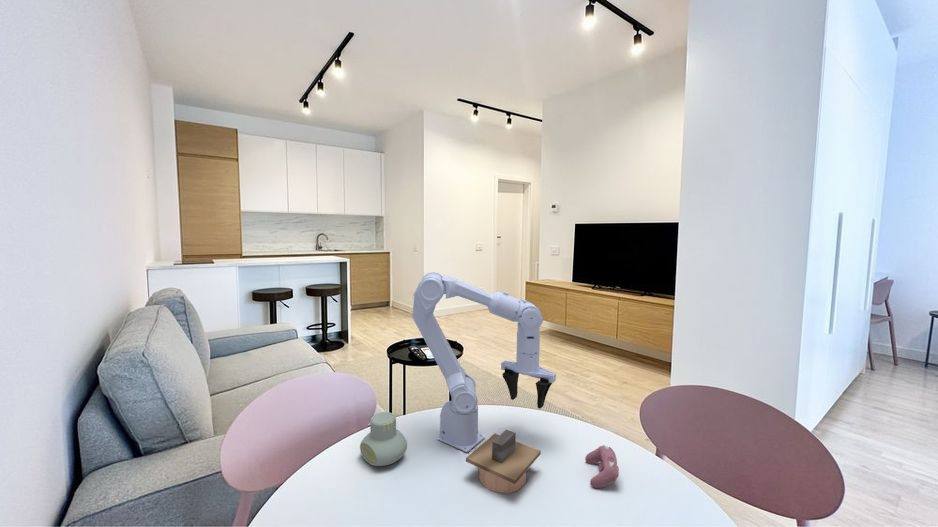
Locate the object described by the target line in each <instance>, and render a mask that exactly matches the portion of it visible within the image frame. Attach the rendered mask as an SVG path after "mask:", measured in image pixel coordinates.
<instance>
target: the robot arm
mask: <svg viewBox="0 0 938 527" xmlns="http://www.w3.org/2000/svg"><path fill="white" fill-rule="evenodd" d="M444 295H445V299H446V300H447V299H450V298H451V299H452V298H455V297H460V298H462V299H465V300H469V301H472V302H473V303H477V304H481V305H482V306H486V307H487V308H488V311H489V313H491V314H492V315H495V316H498V317H500V318H503V319H505V320H507V321H510V322H512V323H513V322H514V323H517V332H516V358H515V359H516V361H509V360H504V361H501V363H500V364H501V365H500V366H501V368H500V370H501V371H504V372H503V373H502V378H503V379H504V381H505V383H506V386H507V389H508V393H509V396H510V397H509V398H510V400H511V401H513V400H515V399H516V398H518V389H519V388H518V386H519V385H518V382H519V376H520V375H523V376H528V377H532V378H535V379H539V380H538V381H537V382H535V388H536V393H537V394H536V395H537V404H536V406H537V409H542V408H543V407H544V406H545V401H546V397H547V395H548V392H549V390H550V387H551V386H552V384H554V383H555V382H556V381H557V373H556V372H553V371H550V370H548V369H545V368H544V367H540V348H541V347H540V344H541V343H540V342H541V340H540V338H541V334H540V327H541V326H542V324H543V322H544V317H543V314H542V312H541V310H540V309H539V308H538V307H537V306H536V305H535V304H534V303H532V302H530V301H529V300H526V299H524V298H521V299H519V298H517V297H514V296H512V295H509V292H508V291H505V290H503V291H502V292H501V291H496V292H493V293H490V292H488V291H485V290H483V289H480V288H479V287H475V286H473V285H472V284H469V283H467V282H465V281H463V280H459V279H458V278H456V277H451V276H449V275H445V274H440V273H438V272H434V271H432V272H431V271H430V272H428V273H426V274H425V275H424V276H423V277H422V279H421V280H420V281H419V283H418V285H417V287H416V289H415V290H414V294H413V296H414V297H413V306H412V320H413V321H414V324H415V325H416V327H417V329H418V331H419V332H420V335H421V336H422V339H424V342H425V344H426V345H427V348H428V349H429V351H430V353H431V355H432V357H433V358H434V360H435V362H436V364H437V366H438V368H439V370H440V371H441V374H442V376H443V377H444V379H445V382H446V387H447V390H448V391H449V394H450V396H451V397H450V398H451V400H448V401H447V402H445V403H444V404H443V405H442V407H441V410H440V415H439V419H440V420H439V436H438V437H437V440H438V441H440V442H443V443H445V444H447V445H449V446H452V447H453V448H456V449H458V450H460V451H463V452H465V453H469V452H470V451H471V450H472V449H474V447H476V446H477V445H478V444H479V443H481V442H482V441H483V440H484V439H485V437H486V436H485V435H483V434H480V433H479V402H478V401H479V400H478V396H477V390H476V382H475V380H474V379H473V378H472V376H470V375H469V374H468V373H466V370H465V369H464V368H463V367H462V366H461V364H460V362H459V360H458V358H457V357H456V354H455V353H454V351H453V349H452V347H451V344H450V343H449V341H448V339H447V338H446V335H445V334H444V332H443V330H442V329H441V326H440V324H439V323H438V321H437V319H436V316H435V314H434V312H435V309H436V306H437V304H439V302H440V300H441V299H442V298H443V297H444Z"/></svg>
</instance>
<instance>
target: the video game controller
mask: <svg viewBox="0 0 938 527" xmlns="http://www.w3.org/2000/svg"><path fill="white" fill-rule="evenodd" d="M584 459H585V462H586V463H587V464H590V465H592V464H597V463H599V464H598V471H600V472H599V473H598V474H596V475H595V476H593V477H591V479H590V481H589V482H590V484H589V485H590V486H591V487H592V488H594V489H601V488H604V487H606V486H608V485H610V484H611V483H612V482H615V481H616V480H617V479H618V478H619V476H620V475H619V474H620V473H619V472H620V469H619V465H618V460H617V455H616V452H615V451H614V450H613V448H612V447H610V446H608V445H606V446H605V444H603V445H600V446H599V447H597V448H596V449H593V450H592V451H590V452H589V453H587V454H586V455H585V458H584Z"/></svg>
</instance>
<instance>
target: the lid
mask: <svg viewBox="0 0 938 527" xmlns="http://www.w3.org/2000/svg"><path fill="white" fill-rule="evenodd" d="M516 435H517V434H516V432H515V431H512V430H509V429H505V430H504V431H502V433H500V434H498V433H494V434H492V435H491V436H490V437H488V438H487V439H486V440H485V441H484V442H483V443H482V444H480V445H479V446H478V447H477V448H476V449H474V450H473V451H472V452H471V453H470V454H469V455H468V456H466V457H465V462H466V463H468V464H471V465H472V466H475V467H477V468H479V469H480V468H481V469H483V470H485V471H487V472H490V473H492V474H494V475H496V476H498V477H500V478H503V479H505V480H507V481H509V482H511V483H513V484H516V482H517V481H518V480H519V479H520V478H521V477H522V475H523V474H524V473H525V472H526V473H527V471H528V469H529V468H530V467H531V466H533V465H534V463H535V462H536V460H538V458H539V456H540V455H541V454H542V452H541V450H539V449H537V448H534V447H531V446H529V445H526V444H524V443H521V442H519V441H517V440H516Z"/></svg>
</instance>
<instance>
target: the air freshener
mask: <svg viewBox="0 0 938 527" xmlns="http://www.w3.org/2000/svg"><path fill="white" fill-rule="evenodd" d="M369 424H370V431H369V433H367V434H366V435H365V436H364V437H363V439H362V440H361V442H360V444H359V450H360V453H361V456H362V457H363V459H365V461H366V462H367V463H368V464H369V465H372V466H374V467H375V466H376V467H384V466H385V467H386V466H388V465H391V464H394V463H396V462H397V461H399V460H400V459H401V458H403V455H404V454H406V451H407V449H408V442H407V439H406V437H405V435H404V434H403V433H402V432H401V431H400V430H398V429H397V416H396V415H395V414H394V413H392V412H389V411H387V412H385V411H383V412H378V413H375V414H374V415H373V416H372V417H371V418H370V423H369Z"/></svg>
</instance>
